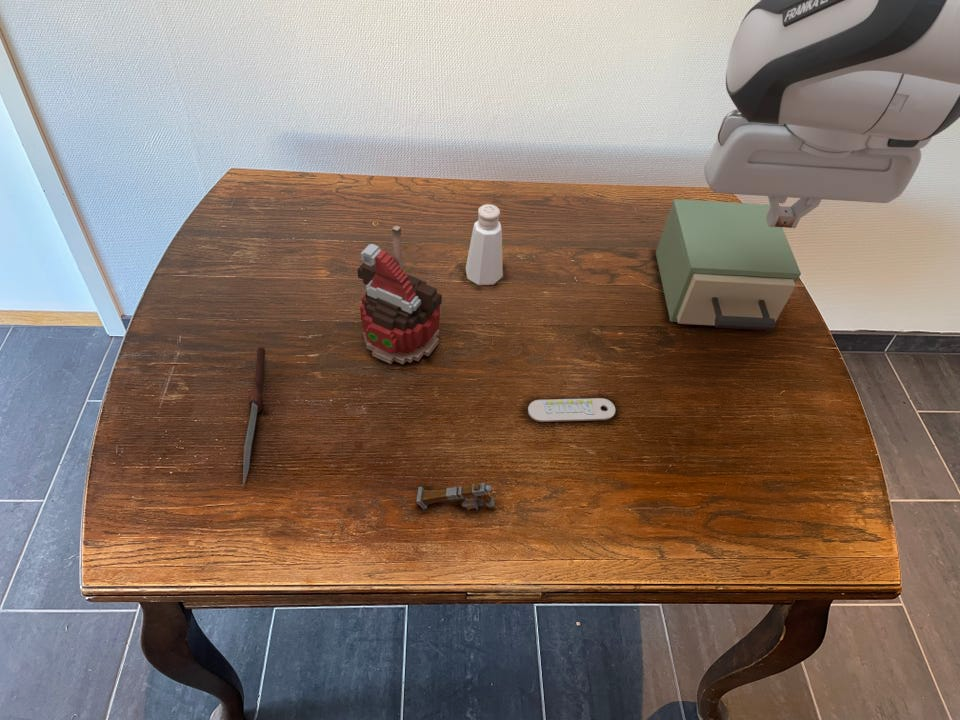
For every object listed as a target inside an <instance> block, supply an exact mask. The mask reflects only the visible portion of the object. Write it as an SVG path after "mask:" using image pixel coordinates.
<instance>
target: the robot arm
mask: <svg viewBox="0 0 960 720" xmlns="http://www.w3.org/2000/svg"><path fill="white" fill-rule="evenodd" d="M726 64H727V65H726V72H725V89H726V92H727V94H728V96H729V98H730V100H731V101H732V103H733V104H734V106H735V107H736V109H733V110H732V111H730V112H729V113H727V114H725V115H724V116H723V119H722V121H721V123H720V126H719V129H718V132H717V139H716V140H715V142H714V144H713V146H712V148H711V150H710V152H709V154H708V157H707V158H706V161H705V164H704V168H703V173H704V178H705V180H706V182H707V185H708V187H709V188H710V190H711V191H712V192H713V193H715V194H725V195H740V196H741V195H744V196H759V197H760V196H761V197H767V198H768V202H769V205H770V206H771V207H770V209H769V211H768V213H767V216H766V222H767V224H768V226H769V227H782V228H785V229H786V228H787V229H796V227H798V224H799V223H800V221H801V219H802V218H804V217H805V216H806V215H808V214H809V213H810V212H812V211H813V210H815V209H816V208H818V207H819V206H820V203H821V202H822V200H827V201H841V202H842V201H843V202H858V203H859V202H860V203H875V204H888V203H890V202H892V201H894V200H896V199H897V198H898V197H900V196H901V195H902V194H903V193H904V192H905V190H906V188H907V187H908V185H909V184H910V182H911V181H912V178H913V177H914V175H915V173H916V171H917V169H918V167H919V165H920V162H921V160H922V151H921V149H923V148H925V147H926V146H927V145H928V144H929V143H930V142H931V140H932V138H933V137H935V136H937V135H939V134H940V133H942V132H943V131H945V130H946V129H948V128H949V127H951V126H952V125H953V124H954V123H956V122H957V120H959V118H960V0H759V1H758V2H756V4H755V5H753V6H752V7H751V8H750V9H749V10H748V12H747V13H746V14H745V15H744V18H743V19H742V21H741V22H740V25H739V26H738V29H737V31H736V33H735V36H734V38H733V40H732V42H731V47H730V49H729V54H728V58H727V63H726ZM788 198H792V199H793V198H794V199H797V201H795V202H794V203H793V204H792V205H791V206H787V205H786V206H785V205H784V204H785V203H786V201H787V200H788ZM781 204H782V205H781Z"/></svg>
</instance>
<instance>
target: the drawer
mask: <svg viewBox="0 0 960 720" xmlns="http://www.w3.org/2000/svg"><path fill="white" fill-rule="evenodd" d="M796 286H797V285H796V284H795V282H794V280H793V279H780V278H774V277H756V276H738V275H721V274H703V273H696V274H694V275H693V277H692V280H691V282H690V285H689V288H688V290H687V293H686V295H685V298H684V300H683V303H682V305H681V308H680V310H679V313H678V315H677V321H678V322H677V324H681V325H696V326H697V325H698V326H715V328H718V329H735V330H737V329H738V330H755V331H774V330H775V328H776V322H777V320H778V319H779V317H780V315H781V313H782V311H783V309H784V308H785V306H786V304H787V302H788V301H789V299H790V297H791V296H792V294H793V292H794V290H795V288H796Z"/></svg>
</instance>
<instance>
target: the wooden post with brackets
mask: <svg viewBox="0 0 960 720" xmlns="http://www.w3.org/2000/svg"><path fill="white" fill-rule="evenodd" d="M491 491H492V486H491V484H486V483H485V482H482V483H480V482H479V483H472V485H471V486H463V485H459V486H454V487H447V488H446V489H440V490H439V489H438V490H436V489H435V490H426V489H425V488H424V487H423V486H418V489H417V496H416V503H417V504H418V505H419V506H420V508H421V509H422V510H427V509H428V505H431V504H434V503H436V502H441V501H445V500H448V501H453V500H460V499H461V500H462V499H463V501H462V502H461V507H462V508H466V510H467V511H469V510H471V509H475V510H476V511H478V510H479V506H480V507H482V506H483V505H486V506H487V507H488V508H489V509H490V510H493V509H496V506H497V505H496V502H495V500H494V498H493V497H492V496H490V495H489V493H490V492H491ZM471 496H472V497H473V498H467V497H471ZM465 497H466V498H465Z"/></svg>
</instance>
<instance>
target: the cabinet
mask: <svg viewBox="0 0 960 720" xmlns="http://www.w3.org/2000/svg"><path fill="white" fill-rule="evenodd" d="M672 200H673V201H672V203H671V206H670V209H669V212H668V215H667V217H666V221H665V224H664V227H663V230H662V233H661V235H660V239H659V242H658V245H657V248H656V251H655V257H656V261H657V265H658V266H657V267H658V271H659V275H660V279H661V285H662V290H663V294H664V299H665V303H666V308H667V313H668V317H669V321H670V322H671V323H678V321H677V315H678V313H679V310H680V308H681V305H682V303H683V300H684V298H685V295H686V293H687V290H688V288H689V285H690V282H691V280H692V277H693V275H694V274H696V273H703V274H721V275H738V276H756V277H774V278H780V279H793V280H794V282H795V285H796V283H797V282H798V280H799V279H800V276H801V275H802V273H801V270H800V268H799V265H798V263H797V260H796V258H795V256H794V253H793V250H792V247H791V245H790V242H789V241H788V238H787V235H786V233H785V230H784V227H769V226H768V224H767V222H766V216H767V213H768V211H769V209H770V207H771V206H770V204H766V203H765V204H764V203H750V202H749V203H748V202H731V201H714V200H700V199H699V200H697V199H682V198H681V199H680V198H673V199H672Z"/></svg>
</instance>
